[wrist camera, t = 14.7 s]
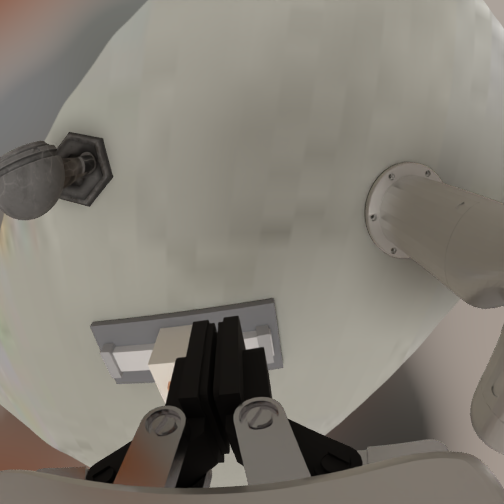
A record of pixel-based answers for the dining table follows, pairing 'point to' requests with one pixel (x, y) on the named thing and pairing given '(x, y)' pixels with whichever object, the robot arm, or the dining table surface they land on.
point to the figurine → (52, 175)
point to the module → (168, 355)
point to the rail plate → (147, 328)
